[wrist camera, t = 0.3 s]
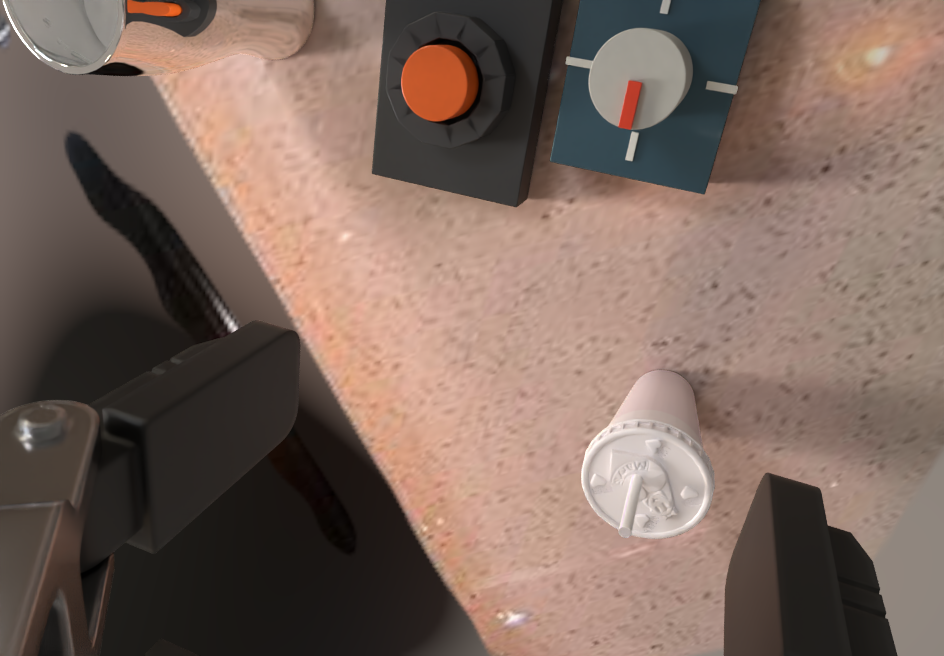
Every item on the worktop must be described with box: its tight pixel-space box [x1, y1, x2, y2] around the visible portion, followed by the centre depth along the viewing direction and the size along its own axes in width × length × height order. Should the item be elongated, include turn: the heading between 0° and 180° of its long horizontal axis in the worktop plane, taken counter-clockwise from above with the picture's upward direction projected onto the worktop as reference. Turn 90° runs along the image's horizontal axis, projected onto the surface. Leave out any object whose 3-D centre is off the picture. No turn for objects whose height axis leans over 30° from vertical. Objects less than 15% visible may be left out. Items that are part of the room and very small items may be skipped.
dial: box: [589, 28, 693, 130], centre depth 31 cm, size 4×4×5 cm
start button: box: [401, 45, 479, 121], centre depth 35 cm, size 4×4×2 cm
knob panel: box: [550, 0, 761, 194], centre depth 35 cm, size 10×8×3 cm
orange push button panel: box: [372, 0, 563, 207], centre depth 38 cm, size 12×9×4 cm
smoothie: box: [581, 370, 715, 539], centre depth 36 cm, size 6×6×14 cm
